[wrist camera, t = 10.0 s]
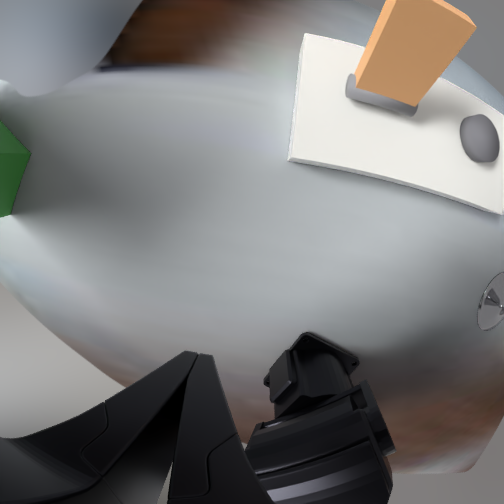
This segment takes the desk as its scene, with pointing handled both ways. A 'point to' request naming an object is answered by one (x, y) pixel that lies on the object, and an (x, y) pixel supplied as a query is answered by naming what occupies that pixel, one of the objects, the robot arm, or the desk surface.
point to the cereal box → (10, 168)
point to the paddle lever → (408, 53)
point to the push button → (479, 138)
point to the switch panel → (390, 131)
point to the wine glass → (492, 304)
